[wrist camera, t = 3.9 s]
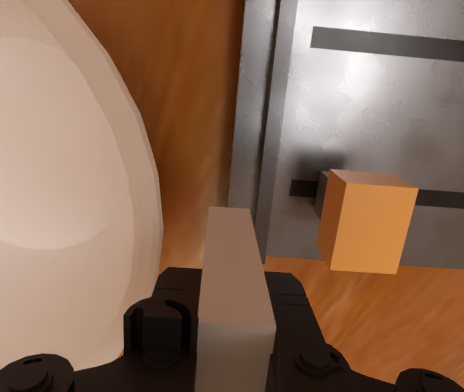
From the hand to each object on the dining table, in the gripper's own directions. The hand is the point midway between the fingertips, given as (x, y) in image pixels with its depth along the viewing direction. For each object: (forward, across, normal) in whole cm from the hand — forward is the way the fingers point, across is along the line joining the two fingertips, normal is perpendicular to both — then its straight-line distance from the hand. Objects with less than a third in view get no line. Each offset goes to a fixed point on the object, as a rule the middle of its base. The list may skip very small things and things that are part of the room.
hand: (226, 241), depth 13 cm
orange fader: (+7, +6, 0) cm, 10 cm away
